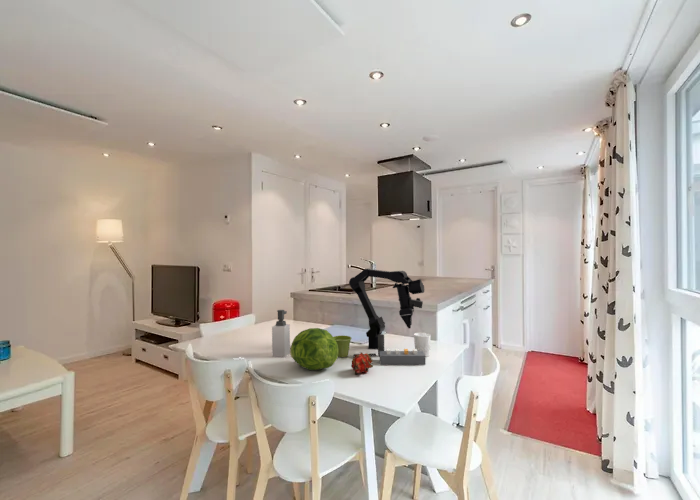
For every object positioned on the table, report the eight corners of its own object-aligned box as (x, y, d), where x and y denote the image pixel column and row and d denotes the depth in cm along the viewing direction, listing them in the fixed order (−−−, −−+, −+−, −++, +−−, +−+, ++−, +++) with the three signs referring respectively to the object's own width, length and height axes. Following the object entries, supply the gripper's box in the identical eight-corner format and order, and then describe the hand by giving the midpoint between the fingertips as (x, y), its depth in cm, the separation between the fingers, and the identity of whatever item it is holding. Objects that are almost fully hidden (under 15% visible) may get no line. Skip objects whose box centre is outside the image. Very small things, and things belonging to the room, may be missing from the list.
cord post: (378, 356, 159) (377, 335, 159) (378, 354, 162) (377, 334, 162) (384, 356, 158) (384, 335, 158) (384, 354, 161) (383, 334, 161)
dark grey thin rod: (353, 357, 158) (353, 354, 158) (353, 356, 160) (352, 353, 160) (376, 356, 159) (376, 353, 159) (376, 355, 161) (375, 353, 161)
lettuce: (307, 338, 163) (282, 322, 150) (347, 335, 151) (323, 318, 139) (298, 376, 152) (271, 362, 140) (340, 376, 140) (314, 361, 128)
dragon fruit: (370, 371, 144) (357, 385, 134) (356, 357, 147) (341, 370, 137) (380, 358, 141) (366, 371, 130) (364, 344, 144) (350, 356, 133)
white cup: (431, 358, 156) (430, 336, 156) (414, 357, 157) (413, 336, 157) (430, 353, 163) (430, 332, 163) (414, 352, 165) (414, 332, 165)
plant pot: (354, 354, 163) (354, 336, 163) (346, 359, 155) (346, 341, 155) (337, 351, 167) (337, 334, 167) (328, 357, 159) (328, 339, 159)
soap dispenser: (291, 351, 168) (291, 308, 168) (284, 357, 160) (284, 311, 160) (279, 351, 170) (279, 308, 170) (272, 356, 161) (271, 311, 161)
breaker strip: (380, 364, 148) (379, 352, 148) (379, 359, 155) (379, 347, 155) (425, 364, 146) (425, 352, 146) (422, 359, 153) (422, 347, 153)
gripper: (419, 294, 156) (426, 327, 154) (420, 291, 174) (426, 321, 172) (396, 298, 158) (402, 331, 157) (399, 295, 176) (405, 324, 175)
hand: (410, 326), depth 165 cm, fingers open, 9 cm apart
